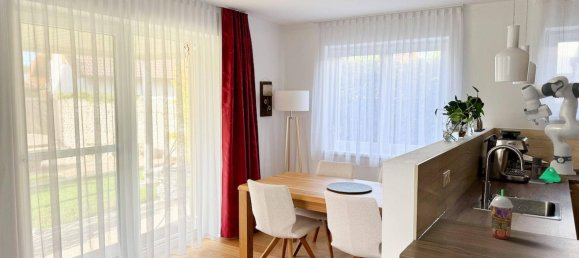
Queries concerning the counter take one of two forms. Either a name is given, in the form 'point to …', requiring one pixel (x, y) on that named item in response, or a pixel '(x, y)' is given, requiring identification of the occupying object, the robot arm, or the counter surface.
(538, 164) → the deodorant
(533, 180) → the mount plate
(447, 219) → the counter surface
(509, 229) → the smoothie
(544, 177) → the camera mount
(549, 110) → the robot arm
